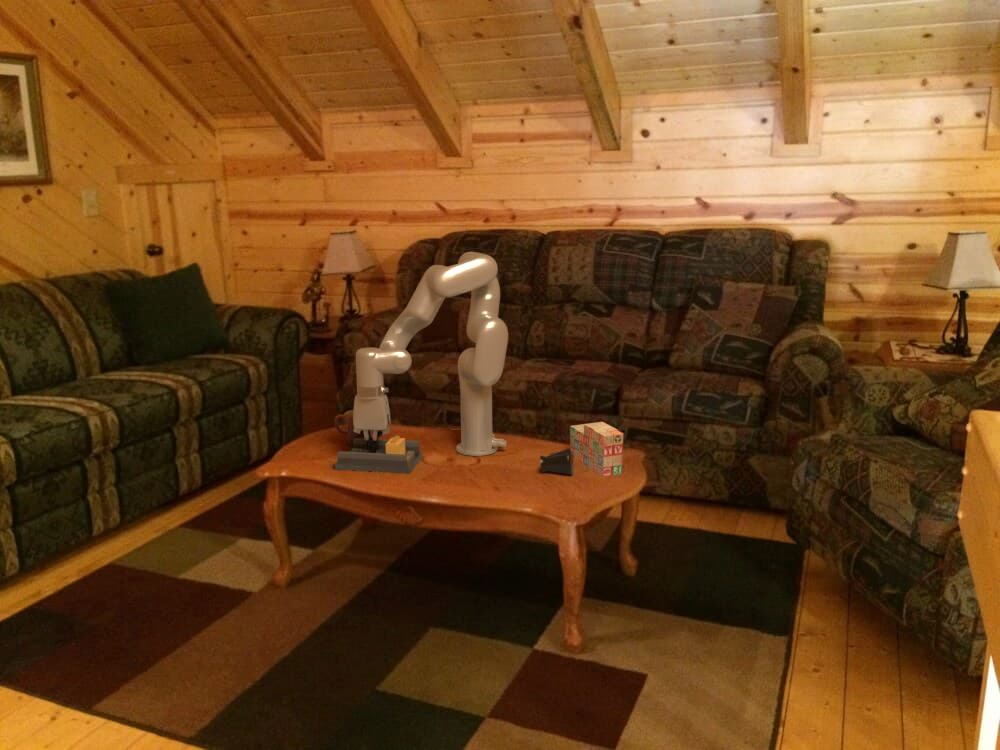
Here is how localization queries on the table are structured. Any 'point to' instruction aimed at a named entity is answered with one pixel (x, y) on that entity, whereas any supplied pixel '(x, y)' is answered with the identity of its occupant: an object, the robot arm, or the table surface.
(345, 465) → the panel
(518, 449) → the table surface
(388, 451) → the cheese wedge
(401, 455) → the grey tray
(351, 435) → the mug
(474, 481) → the table surface
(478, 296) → the robot arm
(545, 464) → the black tapered piece
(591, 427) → the stack of blocks
